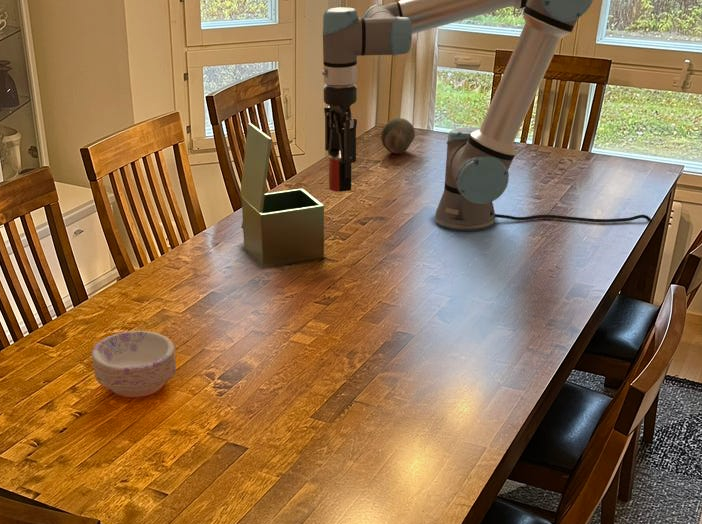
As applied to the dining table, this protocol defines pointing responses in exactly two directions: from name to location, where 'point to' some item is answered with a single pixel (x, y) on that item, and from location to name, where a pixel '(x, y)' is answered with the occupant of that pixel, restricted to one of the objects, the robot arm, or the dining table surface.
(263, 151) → the bin lid
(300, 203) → the trash can
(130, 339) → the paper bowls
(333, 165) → the tin can
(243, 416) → the dining table surface
